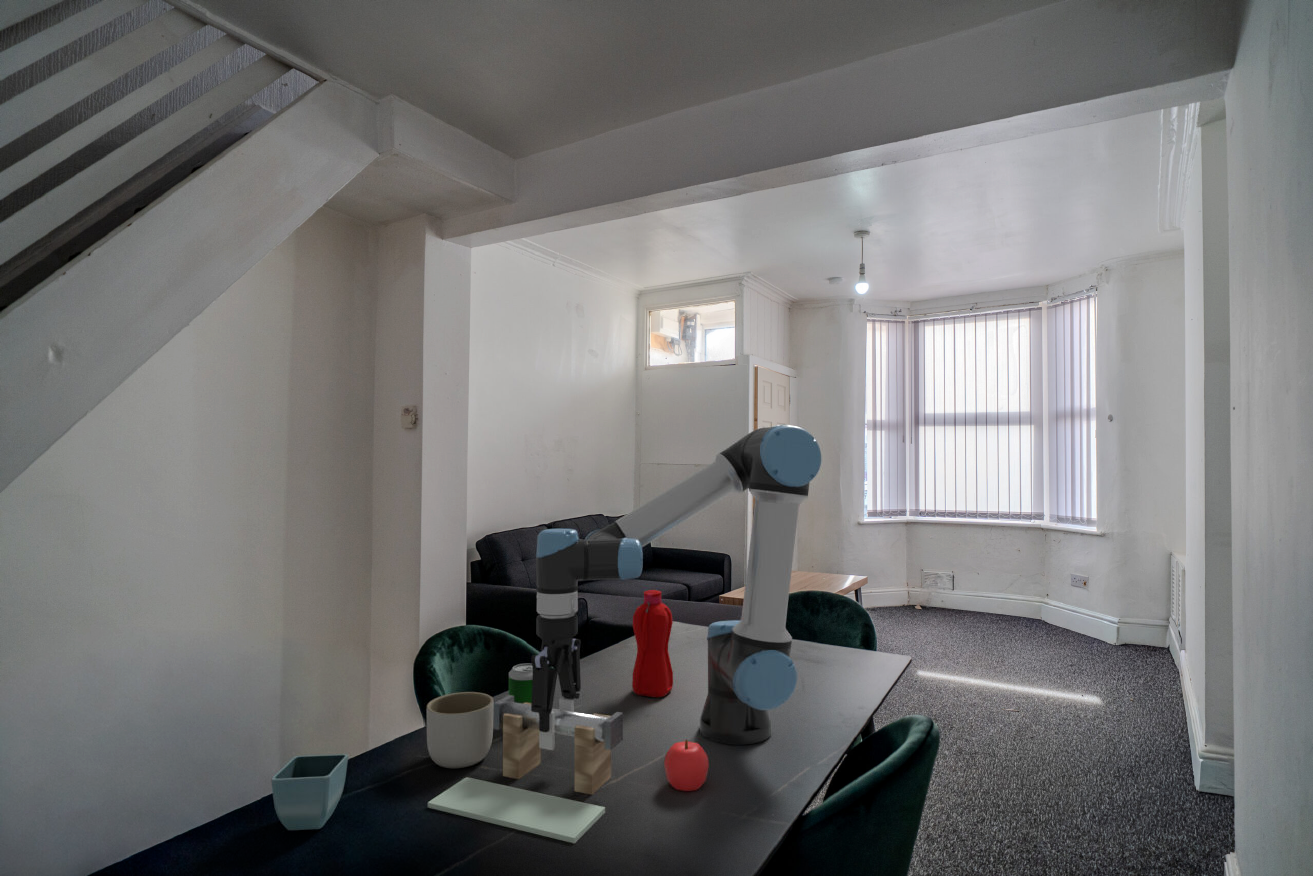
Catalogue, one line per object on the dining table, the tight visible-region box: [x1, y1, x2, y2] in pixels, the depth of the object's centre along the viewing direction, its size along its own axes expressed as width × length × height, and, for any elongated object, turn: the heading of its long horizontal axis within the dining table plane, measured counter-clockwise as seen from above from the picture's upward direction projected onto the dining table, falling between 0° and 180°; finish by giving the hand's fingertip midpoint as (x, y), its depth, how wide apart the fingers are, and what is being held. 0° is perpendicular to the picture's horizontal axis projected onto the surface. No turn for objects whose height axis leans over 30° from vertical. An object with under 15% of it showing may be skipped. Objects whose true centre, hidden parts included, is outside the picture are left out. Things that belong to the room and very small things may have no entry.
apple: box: [663, 739, 710, 792], centre depth 123 cm, size 8×8×8 cm
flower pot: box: [270, 753, 349, 831], centre depth 111 cm, size 9×9×9 cm
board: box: [427, 776, 606, 844], centre depth 115 cm, size 28×10×1 cm, turn 67°
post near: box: [574, 713, 612, 796], centre depth 124 cm, size 4×7×11 cm, turn 157°
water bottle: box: [631, 589, 674, 698], centre depth 172 cm, size 9×11×25 cm
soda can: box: [508, 663, 533, 704], centre depth 153 cm, size 8×8×12 cm
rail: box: [493, 694, 624, 751], centre depth 127 cm, size 24×5×5 cm, turn 67°
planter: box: [426, 691, 495, 769], centre depth 134 cm, size 12×12×11 cm
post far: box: [502, 702, 542, 780], centre depth 130 cm, size 4×7×11 cm, turn 157°
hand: (556, 741), depth 127 cm, fingers open, 6 cm apart
